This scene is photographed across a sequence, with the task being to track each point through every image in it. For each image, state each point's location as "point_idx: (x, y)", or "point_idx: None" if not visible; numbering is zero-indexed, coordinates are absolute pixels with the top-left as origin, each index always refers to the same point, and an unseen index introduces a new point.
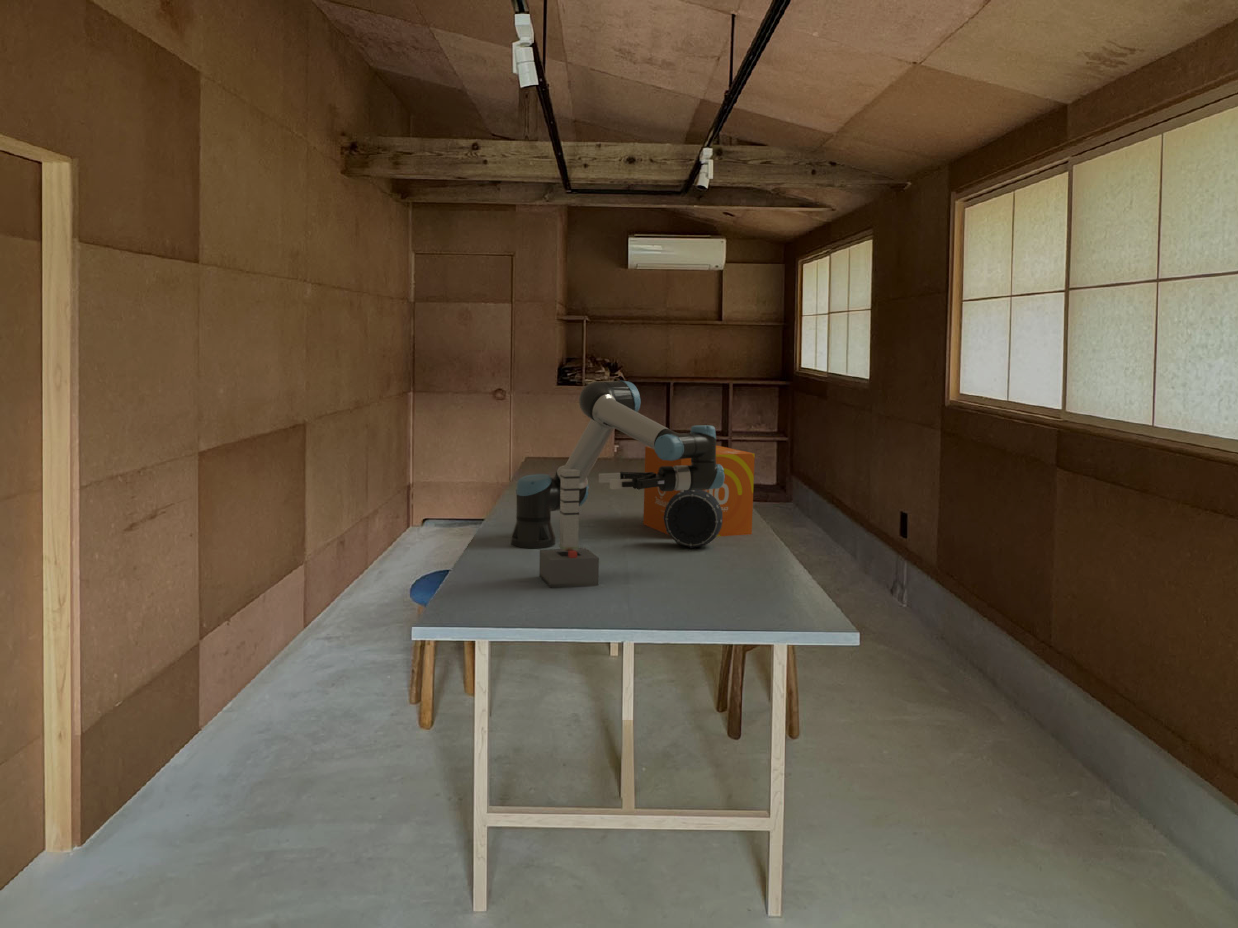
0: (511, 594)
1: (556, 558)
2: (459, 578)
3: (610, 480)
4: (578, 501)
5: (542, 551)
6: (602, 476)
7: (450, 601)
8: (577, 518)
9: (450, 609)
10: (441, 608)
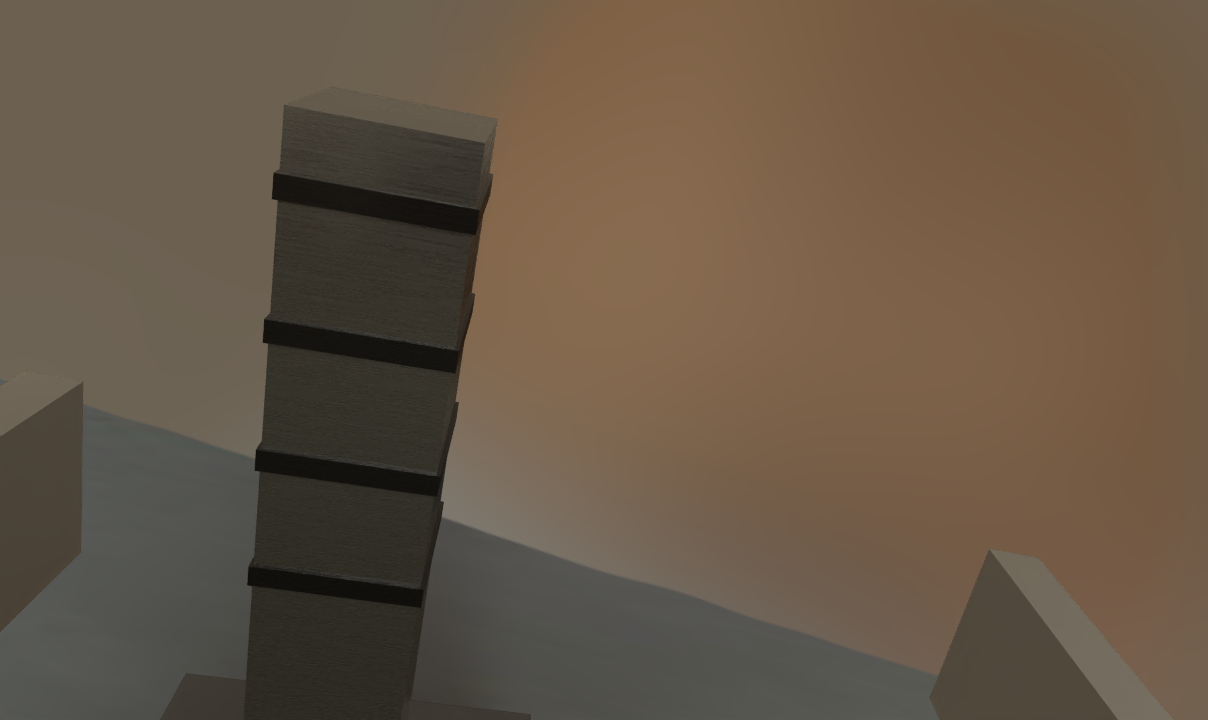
0: (185, 628)
1: (214, 716)
2: (560, 564)
3: (25, 379)
4: (258, 453)
5: (472, 712)
6: (998, 634)
7: (227, 470)
8: (255, 609)
9: (123, 447)
10: (156, 437)
